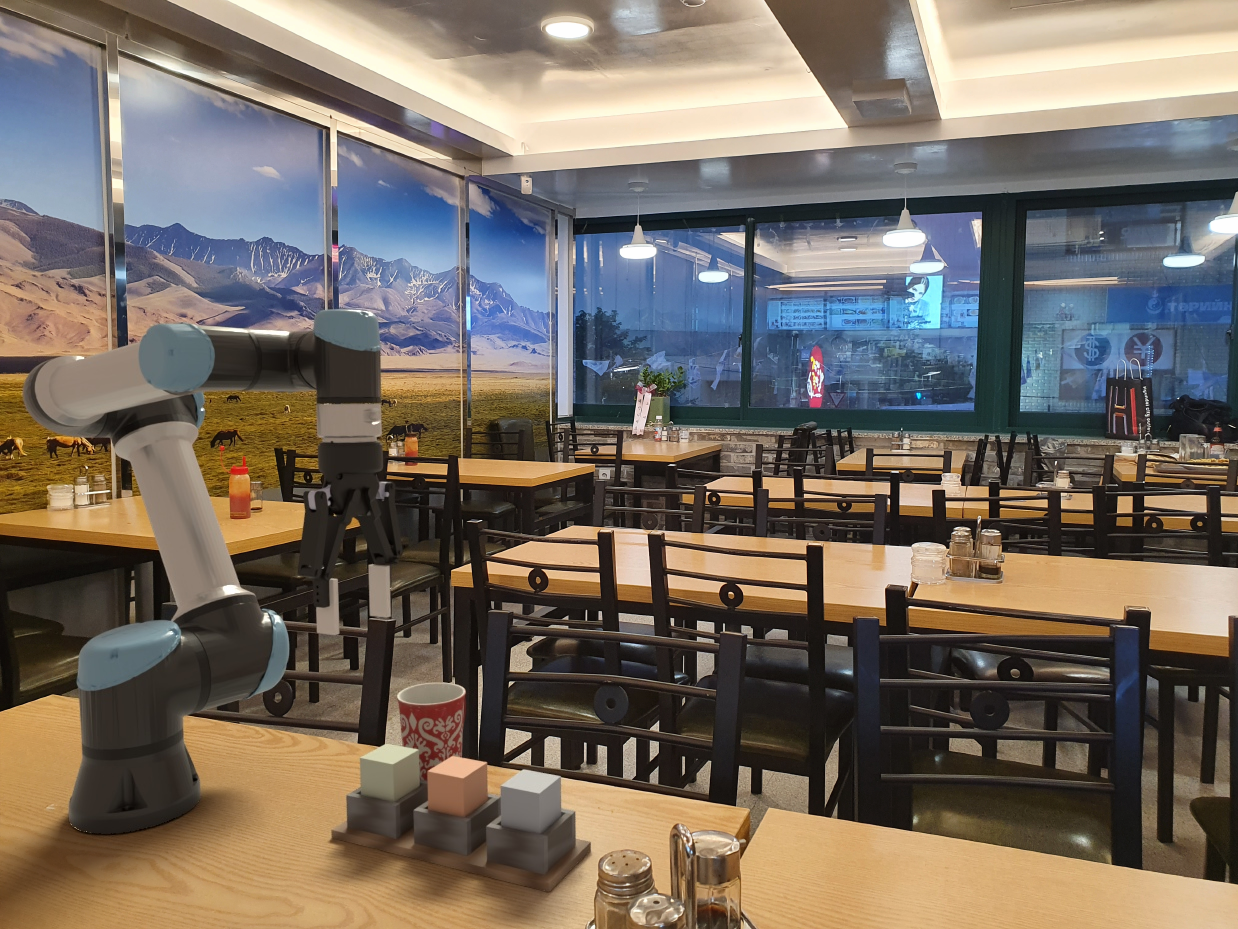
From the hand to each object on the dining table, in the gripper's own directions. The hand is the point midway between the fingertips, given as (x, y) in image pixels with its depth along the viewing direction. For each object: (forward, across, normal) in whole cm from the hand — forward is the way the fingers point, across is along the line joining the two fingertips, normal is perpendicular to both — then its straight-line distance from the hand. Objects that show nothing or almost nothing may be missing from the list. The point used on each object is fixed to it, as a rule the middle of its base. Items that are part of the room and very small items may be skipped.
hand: (355, 624), depth 111 cm
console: (+25, +1, -14) cm, 29 cm away
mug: (+26, +14, -2) cm, 29 cm away
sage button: (+22, +1, -4) cm, 22 cm away
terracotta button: (+22, +1, -14) cm, 26 cm away
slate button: (+22, +1, -24) cm, 32 cm away
